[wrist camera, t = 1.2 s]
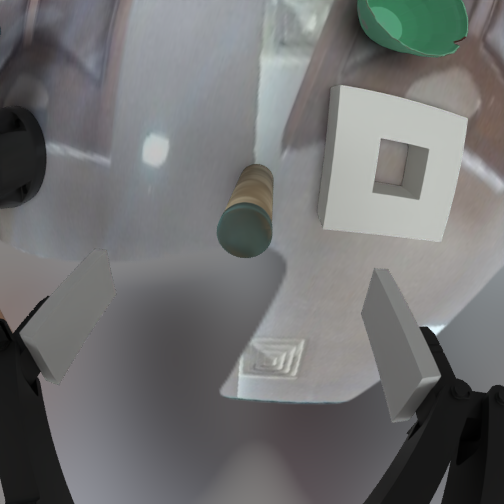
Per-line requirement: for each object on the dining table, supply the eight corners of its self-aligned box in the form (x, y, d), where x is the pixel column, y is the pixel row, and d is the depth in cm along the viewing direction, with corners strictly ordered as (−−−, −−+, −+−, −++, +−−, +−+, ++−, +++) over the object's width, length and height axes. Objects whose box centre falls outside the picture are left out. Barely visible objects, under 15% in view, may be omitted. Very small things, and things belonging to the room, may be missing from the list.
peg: (239, 194, 33) (216, 255, 21) (240, 162, 32) (216, 205, 19) (272, 197, 33) (269, 260, 21) (275, 165, 32) (274, 209, 19)
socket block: (316, 211, 34) (323, 229, 29) (330, 87, 27) (340, 84, 23) (423, 224, 33) (440, 242, 29) (444, 114, 26) (467, 118, 22)
